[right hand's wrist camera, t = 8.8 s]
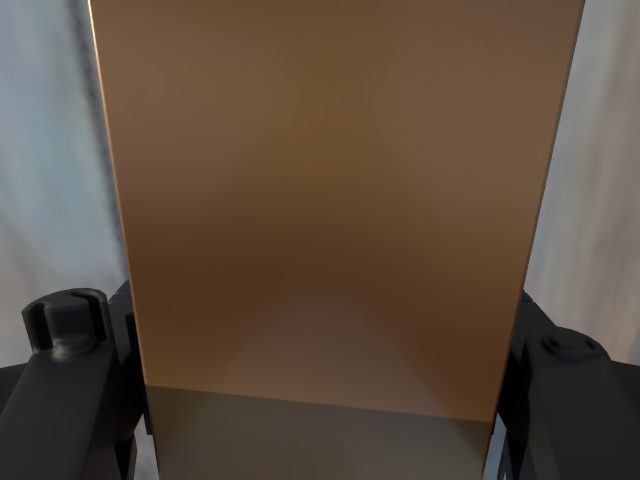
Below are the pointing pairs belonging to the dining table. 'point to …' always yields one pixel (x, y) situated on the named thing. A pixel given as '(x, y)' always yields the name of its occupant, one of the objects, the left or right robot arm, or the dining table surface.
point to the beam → (328, 222)
